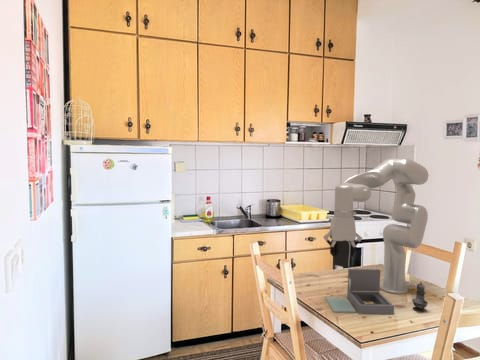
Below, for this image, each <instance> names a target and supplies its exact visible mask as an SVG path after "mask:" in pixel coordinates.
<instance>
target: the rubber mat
mask: <svg viewBox="0 0 480 360" xmlns="http://www.w3.org/2000/svg"><path fill="white" fill-rule="evenodd" d="M325 300H326V302H327V303H328V305H329V307H330V308H331V310H332V312H333V313H346V314H347V313H349V314H352V313H353V314H355V313H356V312H357V310H356V309H355V308H354V306H353V305H352V304H351V303H350V301H349V300H348V299H347V297H325Z"/></svg>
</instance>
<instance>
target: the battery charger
mask: <svg viewBox="0 0 480 360" xmlns="http://www.w3.org/2000/svg"><path fill="white" fill-rule="evenodd" d="M334 247H335V256H333V260H332V261H333V262H332V265H334V266H337V267H341V268H346V269H347V268H348V269H349V268H350V263H351V262H350V258H351V256H350V253H351V242H350V241H347V240H346V241H336V243H335V245H334Z"/></svg>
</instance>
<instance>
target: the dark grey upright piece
mask: <svg viewBox="0 0 480 360" xmlns="http://www.w3.org/2000/svg"><path fill="white" fill-rule="evenodd" d="M425 288H426V287H425V285H424V284H423V283H422V281H420V282H419V283H417V284H416V291H415V298H413V299H411V300H412V304H413V307H412V310H413V311H415V312H418V313H427V312H428V311H427V309H426V307H427V306H428V304H429V302H428V301H427V300H426V299H425V294H426V292H425Z"/></svg>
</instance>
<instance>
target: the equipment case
mask: <svg viewBox="0 0 480 360" xmlns="http://www.w3.org/2000/svg"><path fill="white" fill-rule="evenodd" d="M380 284H381V269H380V268H378V269H377V268H373V269H372V268H371V269H370V268H348V269H347V289H346V290H347V291H346V293H347V294H346V295H347V297H346V299H347V300H348V301H349V303H350V304H351V305H352V307H353V308H354V309H355V311H356V312H357V313H358V314H359V315H394V313H395V305H394V304H393V303H391V302H390V300H388V298H386V296H384V295H383V293H381V289H380ZM365 302H372V303H365Z"/></svg>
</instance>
